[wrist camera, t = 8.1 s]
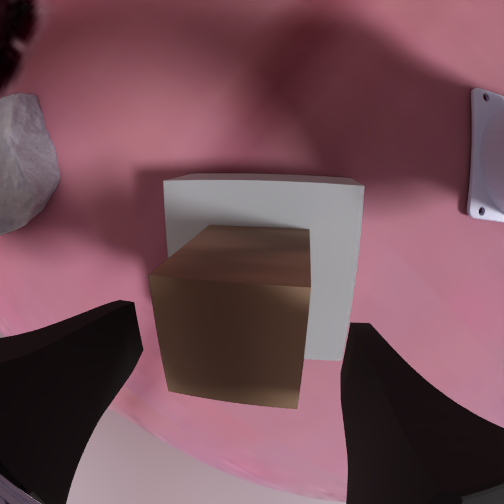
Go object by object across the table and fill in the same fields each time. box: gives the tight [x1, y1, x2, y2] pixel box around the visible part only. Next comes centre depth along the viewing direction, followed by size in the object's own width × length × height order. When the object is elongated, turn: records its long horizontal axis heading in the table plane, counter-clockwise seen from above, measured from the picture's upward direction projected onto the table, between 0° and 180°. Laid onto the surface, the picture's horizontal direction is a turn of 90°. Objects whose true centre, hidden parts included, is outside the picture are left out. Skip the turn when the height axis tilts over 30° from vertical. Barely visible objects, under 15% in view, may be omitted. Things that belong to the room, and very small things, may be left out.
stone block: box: [0, 92, 60, 235], centre depth 19 cm, size 12×5×10 cm
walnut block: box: [148, 225, 311, 409], centre depth 12 cm, size 4×4×6 cm
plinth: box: [163, 173, 364, 361], centre depth 16 cm, size 9×9×4 cm
